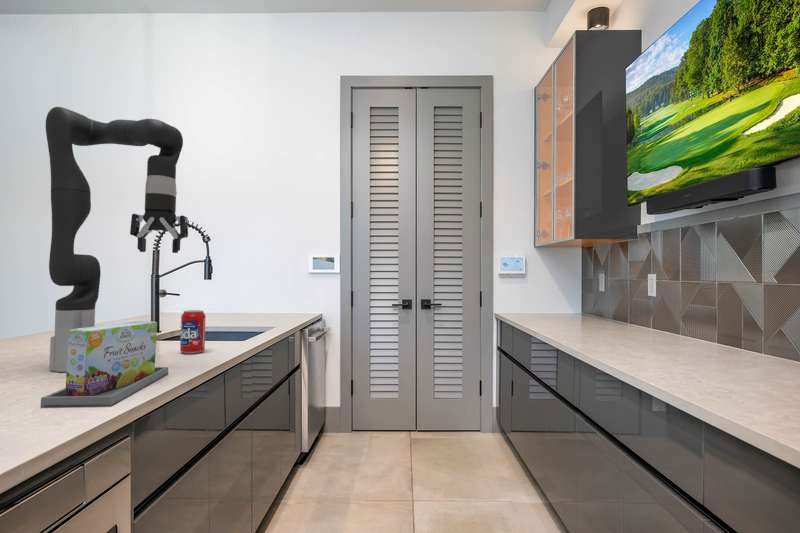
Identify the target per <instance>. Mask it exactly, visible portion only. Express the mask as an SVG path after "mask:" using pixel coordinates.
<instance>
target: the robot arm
mask: <svg viewBox="0 0 800 533" xmlns="http://www.w3.org/2000/svg"><path fill="white" fill-rule="evenodd" d="M45 134H46V135H45V136H46V141H47V148H48V149H47V150H48V156H49V166H50V207H51V239H50V249H49V260H48V272H49V276H50V280H51V282H53V284H54V285H57V286H60V287H73V288H72V291H71V292H70V293H69V294H67V295H66V296H64V297H61V298H58V299H57V300H56V301H55V307H54V308H55V310H54V311H55V314H54V316H55V317H54V335H53V336H51V337H50V346H49V366H48V368H49V371H50V372H57V373H67V357H68V340H69V330H71V329H78V328H87V327H95V323H96V320H95V319H96V303H97V301H98V298H99V295H100V294H99V293H100V284H101V265H100V262H99V260H98V259H97V258H96V257H95V256H93V255H90V254H80V253H78V254H77V253H75V250H74V249H75V239H76V235H77V233H78V231H79V229H81V227H82V225H83V224H84V223H85V222H86V219H87V218H88V216H89V215H90V213H91V209H92V201H91V199H92V198H91V195H92V194H91V186H90V184H89V182H88V180H87V177H86V176H85V175H84V174H85V173H83V171H82V170H81V168H80V165H78V163H77V160H76V158H75V154H74V151H73V150H74V149H73V145H74V146H77V147H78V146H79V147H89V146H96V145H97V146H98V145H121V146H129V147H130V146H132V147H145V146H147V145H151V146H154V147H157V148H159V152H158V154H154V155H150V156H149V157H148V159H147V165H146V182H145V190H144V192H145V193H144V213H143V215H142V214H137V213H132V214H131V221H130V228H129V229H130V230H129V231H130V232H129V234H130V236H134V237H136V239H137V247H136V248H137V250H139V252H140V253H146V250H147V238H146V237H147V236H148V235H149V234H150V233H152V231H156V232H159V231H163V232H168V233H170V235H171V236H172V238H173V239H172V243H171V244H172V247H171V249H172V251H171V252H172V253H173V254H178V253H179V252H180V250H181V241H182V239H185V238H188V237H189V223H188V222H189V220H188V217H187V216H185V215H183V214H182V215H176V212H177V210H176V209H177V195H178V193H177V182H176V181H177V178H176V177H177V164H178V161H179V158H180V154H181V151H182V148H183V147H184V146H183V145H184V139H183V134H182V133H181V131H180V130H179V129H178V128H177V127H175V126H172V125H171V124H168V123H166V122H164V121H162V120H159V119H156V118H155V119H154V118H144V119H139V120H135V119H134V120H133V119H114V120H111V121H109V122H101V121H98V120H95V119H91V118H89V117H87V116H85V115H84V114H82V113H81V114H80V113H79V112H77V111H73V110H71V109H68V108H66V107H63V106H54V107H52V108H51V109H50V110H49V111H48V112H47V114H46V117H45ZM143 221H144V222H145V224H144V225H143V226H142V227H141V223H142V222H143ZM176 222H178V224H179V231H180V232H178V230H177V228H176V227H175V226H174V224H175V223H176Z"/></svg>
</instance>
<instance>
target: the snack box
mask: <svg viewBox="0 0 800 533" xmlns="http://www.w3.org/2000/svg"><path fill="white" fill-rule="evenodd" d="M157 331H158V322H157V321H152V320H151V321H150V320H139V321H131V322H122V323H113V324H105V325H104V324H103V325H97V326H95V327H87V328H78V329H71V330H69V340H68V357H67V372H66V376H65V388H66V390H65V396H92V395H96V394H99V393H102V392H106V391H109V390H112V389H116V388H119V387H123V386H126V385H129V384H133V383H135V382H137V381H139V380H141V379H143V378H145V377H147V376H149V375H151V374H153V373H155V367H156V356H157V355H156V354H157V353H156V351H157Z"/></svg>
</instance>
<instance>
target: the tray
mask: <svg viewBox="0 0 800 533" xmlns="http://www.w3.org/2000/svg"><path fill="white" fill-rule="evenodd" d="M168 375H169V366H155V373H153V374H151V375H149V376H147V377H145V378H143V379H141V380H139V381H137V382H135V383H133V384H129V385H126V386H123V387H119V388H116V389H112V390H109V391H106V392H102V393H99V394H96V395H92V396H65V390H66V387H64V388H62V389H60V390H56V391H54V392H52V393H50V394H48V395H45V396H42V397H41V398H40V408H86V407H87V408H88V407H90V408H94V407H95V408H96V407H101V408H102V407H112V406H114V405H116V404H117V403H120V402H122V401H123V400H125V399H126V398H128V397H130V396H133V395H134V394H136V393H137V392H139V391H141V390H143V389H144V388H146V387H148V386H150V385H151V384H154V383H155V382H157V381H159V380H160V379H162V378H164V377H166V376H168Z"/></svg>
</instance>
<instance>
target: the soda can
mask: <svg viewBox="0 0 800 533" xmlns="http://www.w3.org/2000/svg"><path fill="white" fill-rule="evenodd" d="M204 311H205V310H201V309H193V310H192V309H188V310H187V309H186V310H183V313H182V314H181V317H180V318H181V319H180V342H179V343H180V348H179V349H180V352H181V353H182V354H184V355H197V354H196V353H198V354H201V353H202V352H204V351H205V346H206V345H205V344H206V343H205V342H206V318H207V316H206V314H205V312H204Z"/></svg>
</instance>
